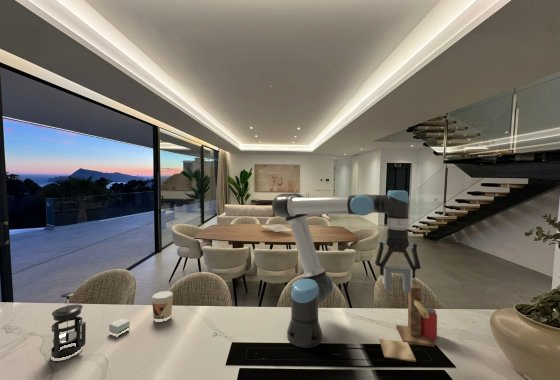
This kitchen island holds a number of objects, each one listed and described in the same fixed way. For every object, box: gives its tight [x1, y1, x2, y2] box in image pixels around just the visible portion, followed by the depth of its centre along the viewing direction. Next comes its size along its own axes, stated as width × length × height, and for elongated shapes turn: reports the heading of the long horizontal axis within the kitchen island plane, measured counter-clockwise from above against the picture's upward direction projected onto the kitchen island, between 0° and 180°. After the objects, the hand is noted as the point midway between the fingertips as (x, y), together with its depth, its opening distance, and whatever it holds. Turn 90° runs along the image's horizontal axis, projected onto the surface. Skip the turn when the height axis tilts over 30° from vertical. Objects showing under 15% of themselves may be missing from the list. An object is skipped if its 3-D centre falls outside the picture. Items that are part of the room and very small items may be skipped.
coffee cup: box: [151, 290, 174, 320], centre depth 119 cm, size 9×9×12 cm
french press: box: [50, 291, 87, 358], centre depth 94 cm, size 12×9×23 cm
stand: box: [395, 284, 436, 348], centre depth 103 cm, size 12×20×22 cm, turn 167°
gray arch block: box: [383, 264, 411, 293], centre depth 98 cm, size 9×3×9 cm, turn 77°
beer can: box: [421, 305, 438, 341], centre depth 107 cm, size 7×7×12 cm
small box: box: [108, 317, 131, 334], centre depth 107 cm, size 6×6×5 cm
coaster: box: [379, 338, 417, 363], centre depth 97 cm, size 11×11×1 cm
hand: (396, 284), depth 98 cm, fingers closed on gray arch block, 9 cm apart
